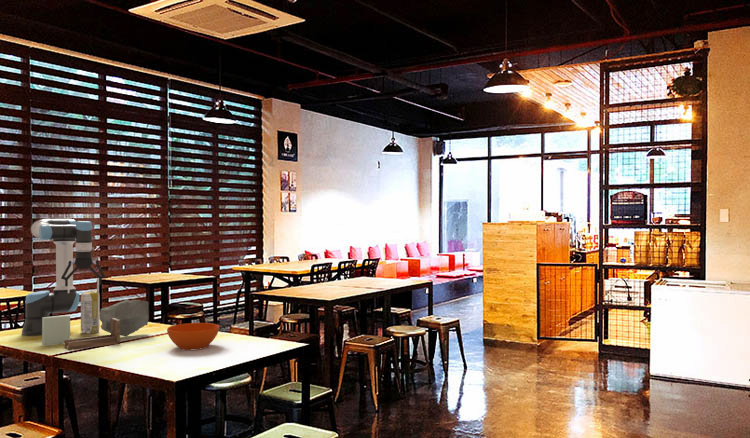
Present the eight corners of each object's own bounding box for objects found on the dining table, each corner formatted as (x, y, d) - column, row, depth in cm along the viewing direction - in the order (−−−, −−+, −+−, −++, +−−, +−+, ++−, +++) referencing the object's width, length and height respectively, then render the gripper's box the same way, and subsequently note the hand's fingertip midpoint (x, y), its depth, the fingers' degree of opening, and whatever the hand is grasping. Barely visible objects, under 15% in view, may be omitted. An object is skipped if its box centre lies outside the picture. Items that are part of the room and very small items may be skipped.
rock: (102, 340, 307) (102, 303, 307) (97, 339, 311) (97, 301, 311) (151, 333, 326) (151, 298, 327) (145, 332, 331) (146, 297, 331)
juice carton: (101, 332, 331) (101, 290, 331) (88, 334, 325) (88, 291, 325) (91, 330, 336) (92, 289, 336) (78, 332, 330) (78, 290, 330)
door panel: (42, 344, 298) (42, 317, 298) (67, 341, 306) (68, 314, 306) (44, 346, 295) (44, 318, 295) (70, 342, 303) (70, 315, 303)
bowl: (204, 339, 310) (204, 321, 310) (228, 347, 292) (228, 327, 292) (158, 346, 293) (158, 327, 293) (181, 355, 275) (181, 333, 275)
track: (63, 346, 292) (64, 322, 293) (113, 340, 308) (113, 317, 308) (69, 350, 285) (69, 325, 285) (120, 343, 301) (120, 320, 301)
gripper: (55, 251, 291) (55, 294, 291) (110, 250, 302) (110, 291, 302) (56, 251, 298) (56, 292, 298) (109, 250, 309) (109, 290, 309)
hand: (83, 292), depth 300 cm, fingers open, 13 cm apart
